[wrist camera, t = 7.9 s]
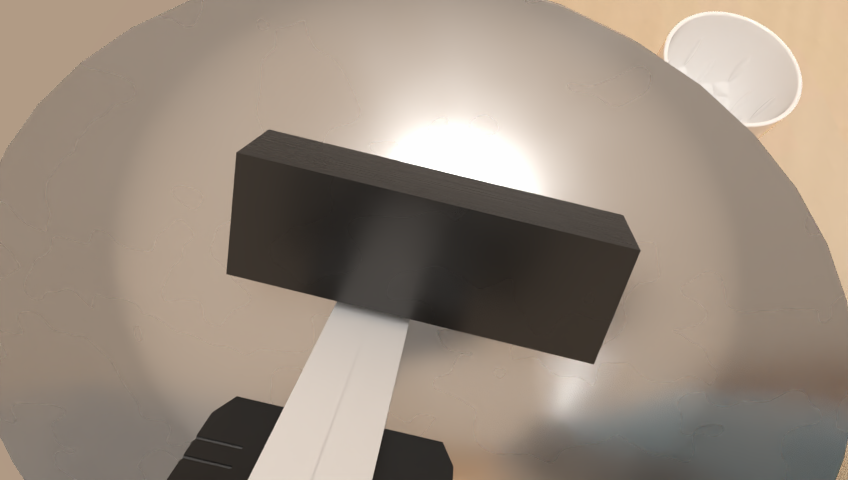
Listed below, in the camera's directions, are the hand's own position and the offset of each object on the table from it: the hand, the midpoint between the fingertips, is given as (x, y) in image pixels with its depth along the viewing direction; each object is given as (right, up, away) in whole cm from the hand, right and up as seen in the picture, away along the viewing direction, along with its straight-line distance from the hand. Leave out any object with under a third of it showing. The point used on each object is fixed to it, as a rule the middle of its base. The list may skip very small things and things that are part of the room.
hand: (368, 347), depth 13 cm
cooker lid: (0, -2, +3) cm, 4 cm away
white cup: (+18, +8, +30) cm, 36 cm away
